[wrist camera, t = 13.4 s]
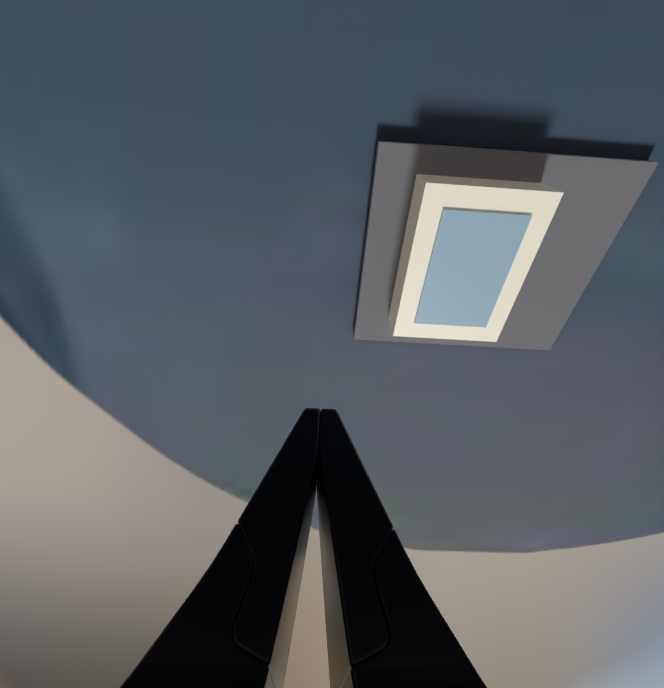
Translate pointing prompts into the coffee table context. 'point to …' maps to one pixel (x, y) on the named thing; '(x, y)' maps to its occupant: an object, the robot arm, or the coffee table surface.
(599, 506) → the coffee table surface
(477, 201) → the cream rectangular frame
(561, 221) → the mat
